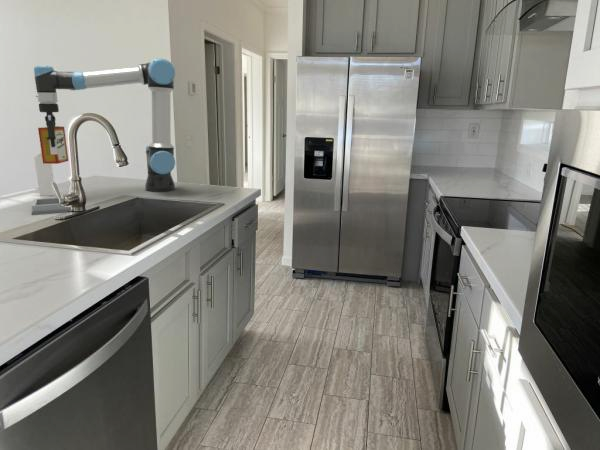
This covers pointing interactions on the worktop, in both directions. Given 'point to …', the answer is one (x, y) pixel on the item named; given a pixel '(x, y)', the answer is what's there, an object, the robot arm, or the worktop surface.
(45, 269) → the worktop surface
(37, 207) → the dock
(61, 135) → the baking soda box
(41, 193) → the long grey-white prism
